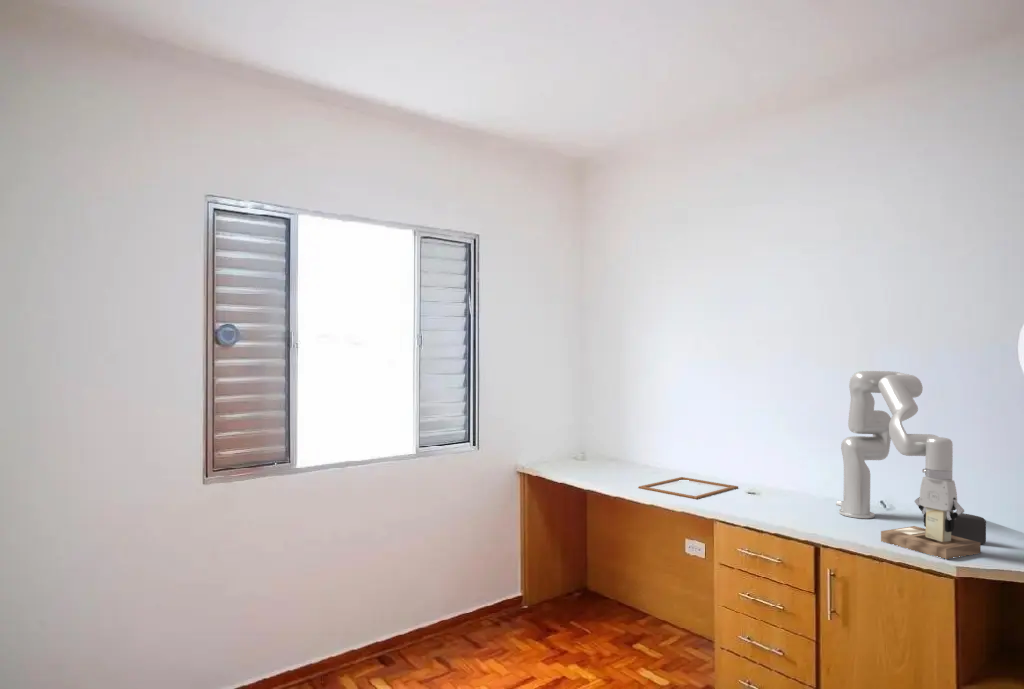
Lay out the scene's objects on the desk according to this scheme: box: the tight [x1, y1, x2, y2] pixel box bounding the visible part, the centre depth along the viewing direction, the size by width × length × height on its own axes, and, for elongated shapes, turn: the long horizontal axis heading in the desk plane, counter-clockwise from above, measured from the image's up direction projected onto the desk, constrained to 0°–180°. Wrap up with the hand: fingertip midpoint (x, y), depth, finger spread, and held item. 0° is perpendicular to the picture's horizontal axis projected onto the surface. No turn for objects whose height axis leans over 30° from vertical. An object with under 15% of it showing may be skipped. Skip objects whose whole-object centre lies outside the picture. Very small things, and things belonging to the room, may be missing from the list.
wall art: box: [637, 476, 739, 500], centre depth 312 cm, size 31×2×38 cm
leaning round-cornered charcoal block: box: [951, 511, 987, 546], centre depth 229 cm, size 16×5×9 cm, turn 51°
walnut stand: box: [880, 525, 982, 560], centre depth 220 cm, size 22×18×4 cm
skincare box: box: [925, 507, 951, 542], centre depth 217 cm, size 6×4×12 cm
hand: (938, 528), depth 217 cm, fingers closed on skincare box, 6 cm apart
